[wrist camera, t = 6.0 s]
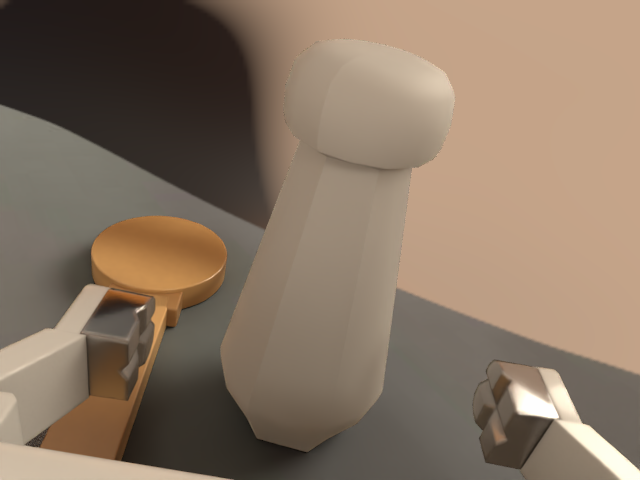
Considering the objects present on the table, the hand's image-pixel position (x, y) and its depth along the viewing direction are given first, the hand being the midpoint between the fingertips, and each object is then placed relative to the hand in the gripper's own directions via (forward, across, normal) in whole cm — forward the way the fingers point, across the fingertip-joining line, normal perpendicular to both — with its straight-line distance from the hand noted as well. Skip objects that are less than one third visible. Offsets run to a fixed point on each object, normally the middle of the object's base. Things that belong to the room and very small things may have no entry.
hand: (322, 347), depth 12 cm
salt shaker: (+4, 0, +7) cm, 8 cm away
